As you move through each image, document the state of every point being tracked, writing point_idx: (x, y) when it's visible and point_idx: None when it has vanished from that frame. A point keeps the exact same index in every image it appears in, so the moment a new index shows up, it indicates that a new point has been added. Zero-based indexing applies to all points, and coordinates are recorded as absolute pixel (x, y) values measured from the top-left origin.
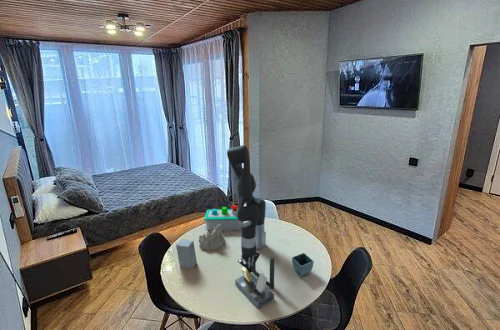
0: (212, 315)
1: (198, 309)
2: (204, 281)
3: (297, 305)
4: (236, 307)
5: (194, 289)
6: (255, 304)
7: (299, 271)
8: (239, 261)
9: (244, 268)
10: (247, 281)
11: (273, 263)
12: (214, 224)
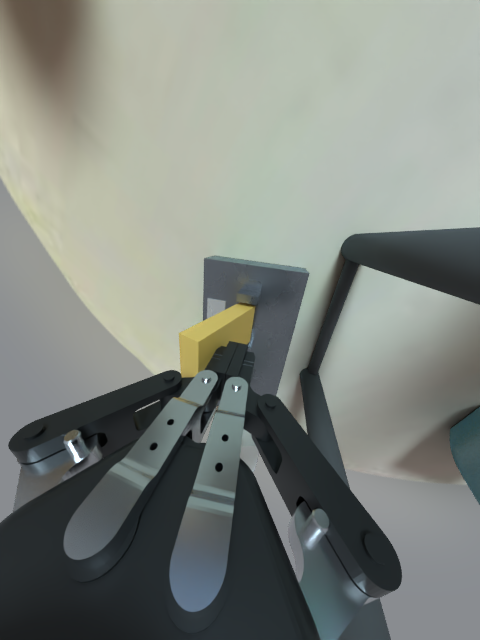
0: (91, 308)
1: (56, 257)
2: (96, 103)
3: None
4: (161, 339)
5: (45, 131)
6: None
7: (464, 459)
8: (24, 464)
9: (194, 356)
10: None
11: None
12: None
